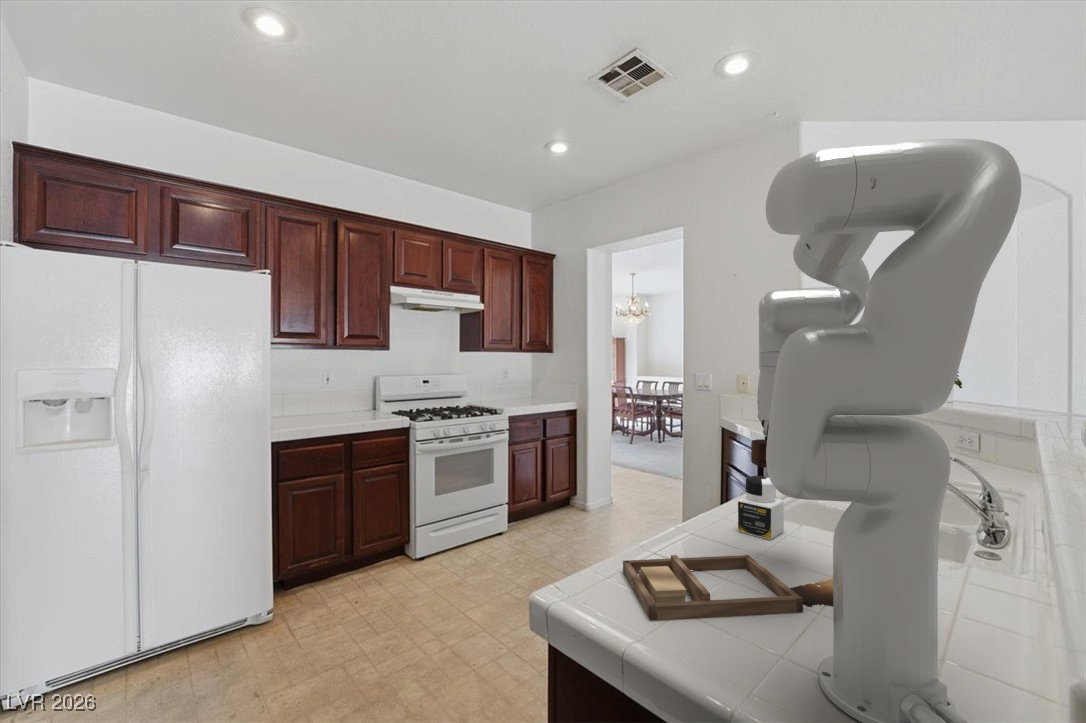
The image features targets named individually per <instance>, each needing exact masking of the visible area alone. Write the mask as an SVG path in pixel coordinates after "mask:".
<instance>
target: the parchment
mask: <svg viewBox="0 0 1086 723" xmlns="http://www.w3.org/2000/svg"><path fill="white" fill-rule="evenodd" d="M789 588H790V589H791V590H793V591H794V592H795V593H796V594H798V595H799V596H800V597H801V598H803V604H805V605H806V606H807V607H809V608H810V607H811V608H812V607H813V606H826V608H827V607H832V608H833V575H830V576H826V577H822V579H821V580H820V581H818V582H814V583H806V584H804V585H802V584H801V585H797V586H794V587H789Z"/></svg>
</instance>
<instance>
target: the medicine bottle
mask: <svg viewBox="0 0 1086 723" xmlns="http://www.w3.org/2000/svg"><path fill="white" fill-rule="evenodd" d="M745 495H746V496H744V497H742V498H740V499H738V500H737V531H738V532H739V533H741V532H742V534H746V535H749V536H753V537H757V538H760V539H764V540H768V541H772V540H774V539H775V538H777V537H778V536H779V535H781V534H782V533H784V530H785V529H784V528H785V526H784V525H785V524H784V522H785V521H784V519H785V516H784V515H785V514H784V510H785V509H784V505H785V502H784V500H783V499H780V498H777V489H776V488H775V487H774V486H773V484H772V483H771V481H770V478H769V476H764V475H763V476H762V475H750V476H748V477H746V479H745Z"/></svg>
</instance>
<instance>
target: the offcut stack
mask: <svg viewBox="0 0 1086 723" xmlns="http://www.w3.org/2000/svg"><path fill="white" fill-rule="evenodd" d="M638 577H639V578H640V580H641V581H642V583H643V585H644V586H645V588H646V589H647V591H648V593H649V594H650V596H651V597H652V599H653V601H654V602H655V603H666V602H685V601H687V600H686V597H687V592H686V588H685V587H684V586H683V585H682V583H681V582H680V581H679V580H678V578H677V577H676V576H675V575H674V573H673V572H672V571H671V570H670V568H669V567H668V566H660V567H640V570H639V574H638Z"/></svg>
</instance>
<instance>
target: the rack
mask: <svg viewBox="0 0 1086 723" xmlns="http://www.w3.org/2000/svg"><path fill="white" fill-rule="evenodd" d="M660 566H668V567H669V568H670V570H671V571H672V572H673V573H674V575H675V576H676V577H677V578H678V580H679V581H680V582H681V583H682V585H683V586H684V587H685V588H686V591H687V592H688V593H689V594H688V593H687V592H686V593H687V594H688V596H689V595H690V596H691V597H690V596H689V597H690V598H691V600H689V601H688V600H686V601H685V602H666V603H655V602H654V601H653V599H652V597H651V596H650V594H649V593H648V591H647V589H646V588H645V586H644V585H643V583H642V581H641V580H640V578H639V577H638V576H639V574H637V573H639V570H640V567H660ZM717 569H719V570H717ZM720 569H726V570H743V569H745V570H747V571H748V572H749V573H750V572H751V573H750V574H752V575H753V576H754V577H755V578H756V579H758V581H760V582H761V583H762V584H764V586H765V587H767V589H768V590H770V591H771V592H772V593H773V594H775V595H776V596H767V597H747V598H746V597H744V598H725V599H711V593H710V591H709V590H708V589H707V588H706V587H705V586H704V584H703V583H701V581H700V580H699V579H698V578H697V577H696V576H695V574H694V573H693V571H690V570H704V571H721V570H720ZM622 572H624V573H623V574H624V576H625V578H626V580H627V581H628V583H629V585H630V586H631V589H632V590H633V592H634V594H635V595H636V597H637V599H638V601H639V602H640V604H641V606H642V608H643V610H644V611H645V613H646V615H647V617H648V618H649V620H650V621H666V620H683V619H703V618H704V619H705V618H721V617H737V616H738V617H739V616H740V617H741V616H756V615H773V614H774V615H776V614H793V613H804V602H803V598H801V597H800V596H799V595H798V594H796V593H795V592H794V591H793V590H791V589H790V588H791V587H789V586H788V585H787V584H785V583H784V582H783V581H781V580H780V579H779V578H777V577H776V576H775V575H774V574H773V573H771V572H770V571H768V569H766V567H764V566H763V565H762V564H760V563H759V562H757V560H755V559H754V558H753V557H752V556H750V555H749V554H745V555H744V554H743V555H742V554H739V555H723V556H722V555H721V556H720V555H719V556H700V557H698V556H696V557H678V556H677V554H674V555H673V554H671V555H670V558H656V559H652V558H651V559H629V560H628V559H627V560H622Z"/></svg>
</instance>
